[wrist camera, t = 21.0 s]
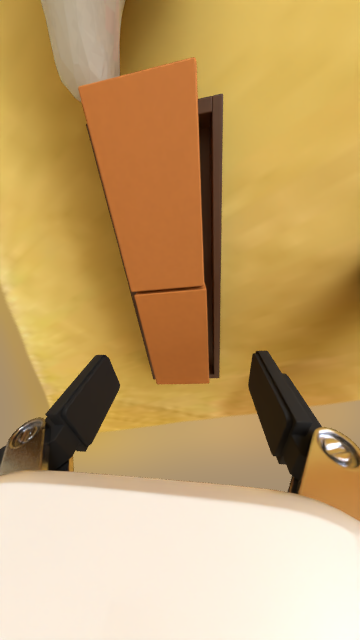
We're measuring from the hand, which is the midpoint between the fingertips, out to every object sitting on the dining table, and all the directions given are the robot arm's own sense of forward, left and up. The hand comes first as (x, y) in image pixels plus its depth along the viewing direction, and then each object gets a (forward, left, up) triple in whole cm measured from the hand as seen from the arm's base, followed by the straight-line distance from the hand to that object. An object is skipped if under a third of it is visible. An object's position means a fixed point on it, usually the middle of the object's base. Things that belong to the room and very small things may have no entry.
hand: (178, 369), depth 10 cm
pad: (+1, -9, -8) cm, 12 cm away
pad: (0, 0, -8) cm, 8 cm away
